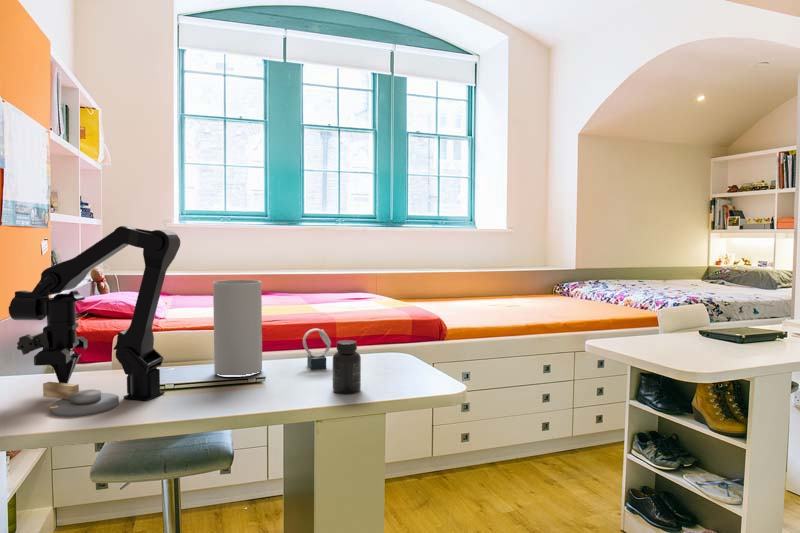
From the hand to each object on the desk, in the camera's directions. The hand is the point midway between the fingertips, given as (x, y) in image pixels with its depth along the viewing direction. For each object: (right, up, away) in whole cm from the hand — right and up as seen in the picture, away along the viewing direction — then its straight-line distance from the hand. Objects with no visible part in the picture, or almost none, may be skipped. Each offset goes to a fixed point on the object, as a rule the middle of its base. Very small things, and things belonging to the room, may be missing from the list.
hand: (63, 386), depth 130 cm
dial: (+6, -1, -7) cm, 9 cm away
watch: (+55, -1, +29) cm, 62 cm away
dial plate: (+10, -3, -8) cm, 13 cm away
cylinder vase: (+34, -1, +22) cm, 41 cm away
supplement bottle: (+66, -3, +6) cm, 66 cm away
